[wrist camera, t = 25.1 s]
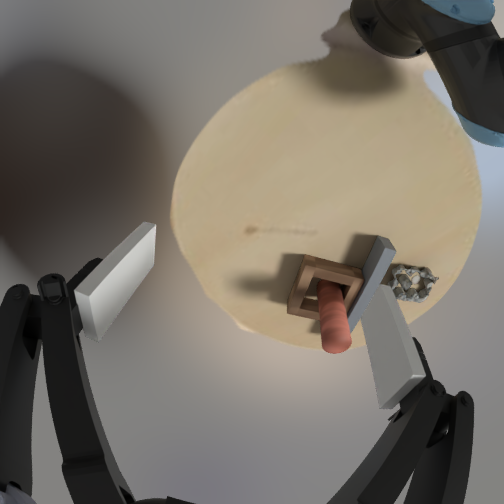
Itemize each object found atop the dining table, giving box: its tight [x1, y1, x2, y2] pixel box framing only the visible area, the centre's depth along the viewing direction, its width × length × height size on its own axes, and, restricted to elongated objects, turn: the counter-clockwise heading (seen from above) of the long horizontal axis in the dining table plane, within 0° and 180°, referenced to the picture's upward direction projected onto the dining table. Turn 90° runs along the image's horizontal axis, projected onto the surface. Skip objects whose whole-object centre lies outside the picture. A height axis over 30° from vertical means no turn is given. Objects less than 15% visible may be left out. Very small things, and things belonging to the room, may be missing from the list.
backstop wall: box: [347, 236, 396, 334], centre depth 54 cm, size 26×2×5 cm, turn 167°
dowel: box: [317, 279, 352, 354], centre depth 49 cm, size 5×5×16 cm
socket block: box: [287, 254, 364, 321], centre depth 55 cm, size 12×12×4 cm
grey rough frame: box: [387, 264, 439, 303], centre depth 52 cm, size 11×8×4 cm
